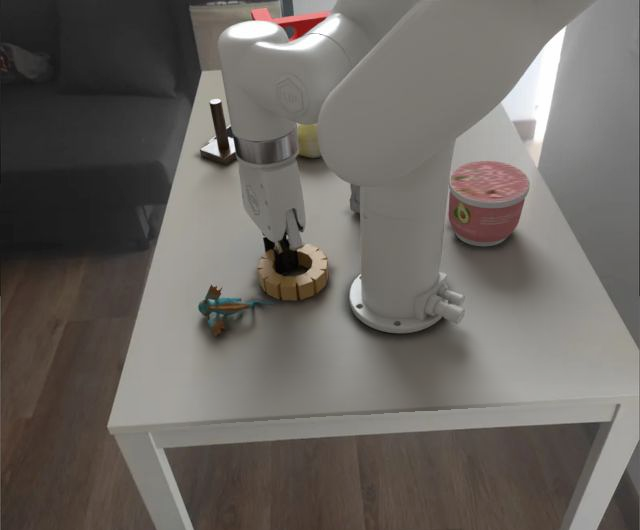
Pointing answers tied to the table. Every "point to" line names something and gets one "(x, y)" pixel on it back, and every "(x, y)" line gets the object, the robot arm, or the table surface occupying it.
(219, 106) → the stand
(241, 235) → the table surface
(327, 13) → the bracket
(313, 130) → the fruit
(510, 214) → the container
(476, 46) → the robot arm
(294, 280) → the segmented wooden ring
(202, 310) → the dragon figurine
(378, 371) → the table surface
